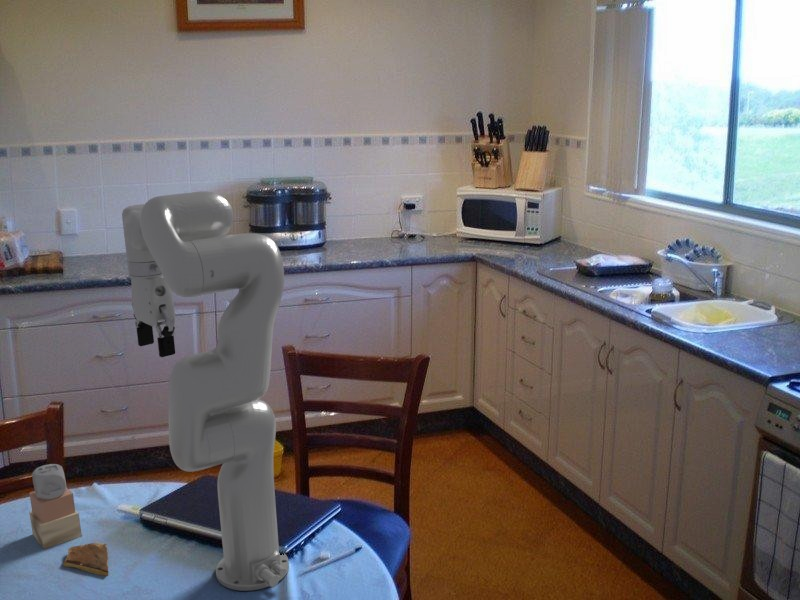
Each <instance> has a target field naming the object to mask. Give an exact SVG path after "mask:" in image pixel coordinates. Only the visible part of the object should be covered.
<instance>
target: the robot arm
mask: <svg viewBox="0 0 800 600" xmlns="http://www.w3.org/2000/svg"><path fill="white" fill-rule="evenodd" d="M121 212H122V213H121V220H122V228H123V229H122V230H123V237H124V244H125V254H126V256H125V257H126V262H127V271H128V273H127V274H128V278H130V279H131V280H130V281H131V300H132V302H131V307H132V310H133V317H134V319H135V322H134V324H135V328H136V335H137V343H138V344H137V345H138V346H139V347H144V346H147V345H152V344H154V343H155V340H154V339H155V338H154V331H153V328H155V329H156V333H157V335H158V337H157V348H158V355H159V357H161V358H165V357H170V356H174V355H175V354H176V346H175V329H176V327H175V322H176V312H175V311H176V310H175V304H174V297H173V293H174V294H175V295H176V296H179V297H182V298H196V297H199V296H206V295H211V294H216V293H217V294H218V293H223V292H228V291H232V290H238V292H237V294H236V296H234V297H233V299H232V300H231V301H229V304H228V305H227V307H226V308H225V310H224V312H223V313H222V316H220V319H219V323H218V327H217V329H218V330H217V343H216V344H217V345H216V346H215V347H214V348H213V349H212V350H208V351H203V352H199V353H195V354H191V355H188V356H184V357H182V358H180V359H179V360H178V361H176V363H175V364H173V366H172V369H171V370H170V372H169V373H170V374H169V378H168V443H169V444H168V445H169V451H170V455H171V457H172V460H173V463H174V464H175V465H176V466H177V468H179V469H180V470H182V471H184V472H189V473H191V472H198V471H203V470H205V469H209V468H213V467H216V466H219V465H221V467H220V470H219V472H218V477H217V482H216V483H217V486H216V488H217V498H218V499H217V501H218V508H219V509H218V510H219V521H220V529H221V530H220V531H221V544H222V555H223V557H222V558H221V559H220V560H219V562H218V563H217V564H216V567H215V576H216V579H217V581H218V582H219V584H221V585H222V586H223V587H225V588H228V589H229V590H234V591H241V592H245V591H246V592H247V591H257V590H263V589H265V588H268V587H271V588H274V587H276V586H277V585H278V584H279V582H280V581H281V580H283V579H284V578H285V577H286V575H287V573H288V572H289V570H290V561H289V557H288V556H287V554H286V553H284V555H283V554H282V555H280V553H279V550H280V547H279V534H278V522H277V521H278V519H277V508H276V507H277V505H276V495H275V494H276V492H275V490H276V489H275V475H274V474H275V473H274V454H275V453H274V451H275V444H276V443H275V442H276V435H277V434H276V433H277V422H276V416H275V413H274V411H273V409H272V407H271V406H270V404H268V403H267V402H266V401H264V400H262V399H261V398H263V397H264V396H265V395H266V393H267V391H268V389H269V386H270V379H271V369H272V366H271V365H272V353H273V338H274V337H273V335H274V334H273V333H274V325H275V323H276V322H275V321H276V317H277V314H278V312H279V311H278V310H279V308H280V305H281V302H282V297H283V292H284V287H285V269H284V263H283V257H282V255H281V251H280V248H279V247H278V245H277V244H276V242H275V241H274V240H273V239H272V238H270V237H269V236H266V235H264V234H260V233H251V232H250V233H235V234H228V233H229V232H230V230H231V228H232V227H233V224H234V220H235V219H234V216H235V215H234V209H233V207H232V205H231V204H230V202H229V201H228V200H227V199H226V198H225V197H224V196H222V195H220V194H218V193H215V192H213V191H202V190H201V191H195V192H194V191H191V192H185V193H176V194H167V195H166V194H165V195H159V196H154V197H152V198H150V199H148V200H147V201H146V202H145V203H142V204H135V205H134V204H133V205H129V206H127V207H125V208H124V209H123V210H122V211H121ZM162 328H163V329H162Z"/></svg>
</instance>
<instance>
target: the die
mask: <svg viewBox="0 0 800 600" xmlns="http://www.w3.org/2000/svg"><path fill="white" fill-rule="evenodd" d="M31 476H32V484H33V489H34V491H35V493H36V496H37V498H39V499H42V500H50V499H55V498H58V497H60V496H62V495H63V494H64V493H65V491H66V487H67V482H66V476H65V472H64V469H63V466H62V465H60V464H57V463H49V464H48V463H47V464H43V465H41V466H38V467H36V468H35V469H34V470H33V471H32V474H31Z"/></svg>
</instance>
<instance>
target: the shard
mask: <svg viewBox="0 0 800 600" xmlns="http://www.w3.org/2000/svg"><path fill="white" fill-rule="evenodd" d="M108 551H109V550H108V547H107V543H106V542H105V543H104V542H94V543H93V542H92V543H87V544H80V545H75V546H71V547H69V548H68V550H67V556H66V558H65V560H63V561H62V565H63V567H67V568H76V569H77V570H78V569H79V570H82V571H84V572H88V573H91V574H95V575H98V576H99V575H100V576H106V577H107V576H109V566H108V560H109V558H108V557H109V553H108Z"/></svg>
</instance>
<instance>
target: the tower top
mask: <svg viewBox="0 0 800 600" xmlns="http://www.w3.org/2000/svg"><path fill="white" fill-rule="evenodd" d="M29 498H30V506H31V511H32V512H33V513H34V514H35V515H36V516H37V517H38V519H39V520H40V521H41V522H42V523H43V524H44V523H47V522H50V521H52V520H55V519H58V518H61V517H64V516H67V515H70V514H73V513H75V510H76V505H75V499H74V494H73V492H72V491H71V490H70V489H69V488H68V487H67V486H66V491H65V493H64V494H63V495H62V496H60V497H58V498H55V499H50V500H42V499H39V498H37V496H36V493H35V490H33V491H31V492H29Z"/></svg>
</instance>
